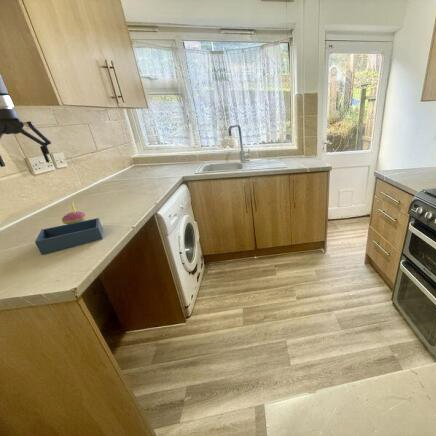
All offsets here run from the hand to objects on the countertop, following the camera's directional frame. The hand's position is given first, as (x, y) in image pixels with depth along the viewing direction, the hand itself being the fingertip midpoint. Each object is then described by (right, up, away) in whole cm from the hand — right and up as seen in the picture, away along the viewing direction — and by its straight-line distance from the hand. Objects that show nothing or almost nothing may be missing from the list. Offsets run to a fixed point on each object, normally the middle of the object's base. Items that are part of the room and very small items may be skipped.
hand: (26, 164), depth 102 cm
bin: (+23, -32, -2) cm, 39 cm away
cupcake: (+13, -27, +10) cm, 32 cm away
